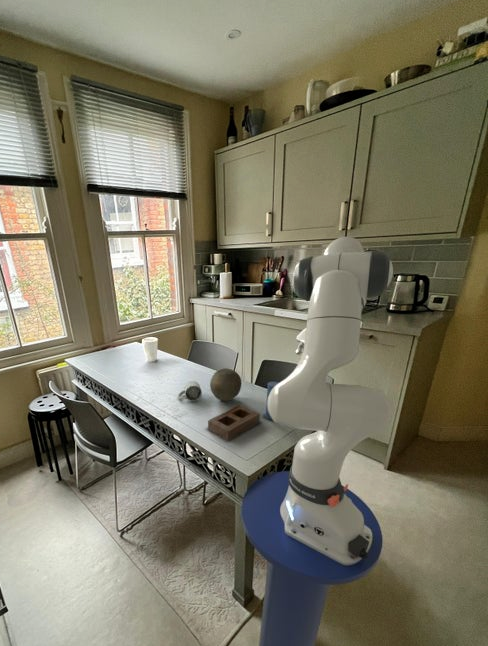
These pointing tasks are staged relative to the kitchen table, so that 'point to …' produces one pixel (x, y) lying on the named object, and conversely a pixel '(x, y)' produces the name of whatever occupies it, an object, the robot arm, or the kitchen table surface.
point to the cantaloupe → (225, 384)
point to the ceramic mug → (191, 391)
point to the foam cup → (150, 348)
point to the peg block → (233, 422)
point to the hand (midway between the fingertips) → (304, 357)
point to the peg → (270, 387)
